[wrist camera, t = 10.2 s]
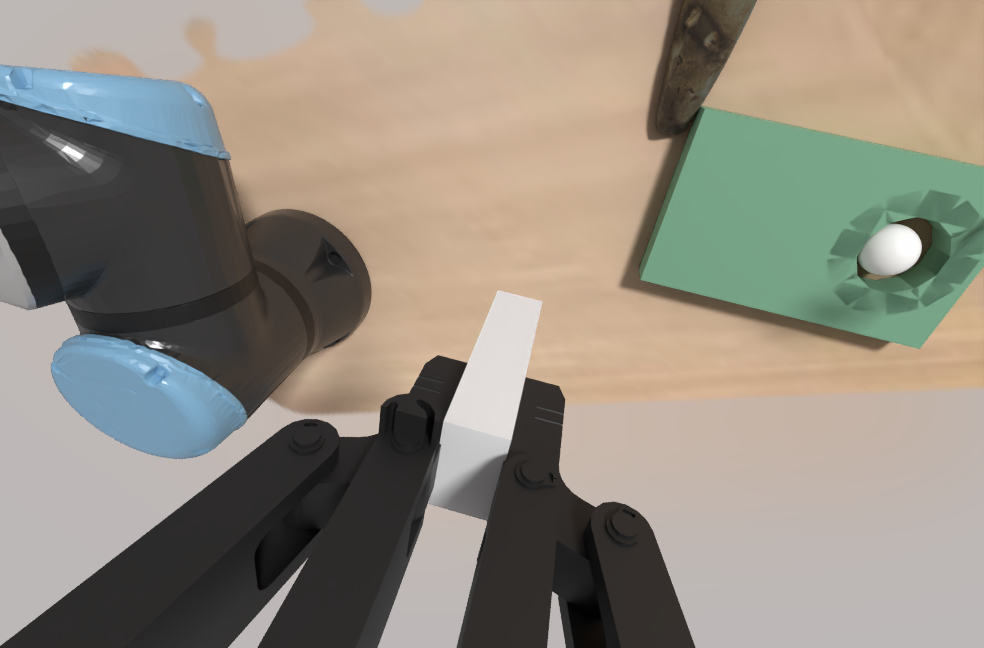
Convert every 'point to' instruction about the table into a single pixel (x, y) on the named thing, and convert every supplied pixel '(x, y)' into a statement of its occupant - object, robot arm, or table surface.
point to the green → (814, 225)
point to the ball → (890, 250)
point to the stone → (698, 57)
